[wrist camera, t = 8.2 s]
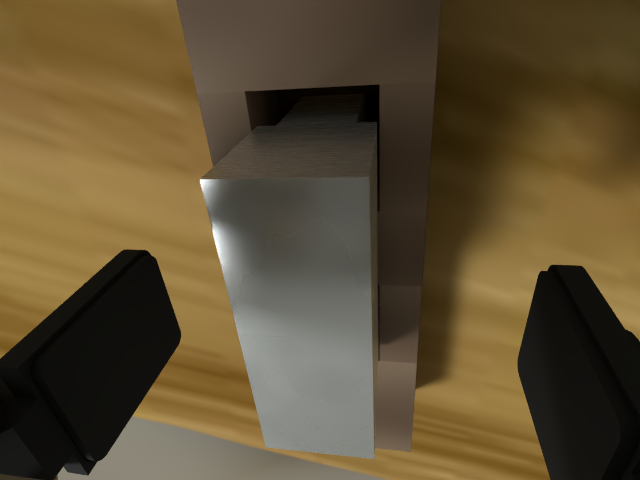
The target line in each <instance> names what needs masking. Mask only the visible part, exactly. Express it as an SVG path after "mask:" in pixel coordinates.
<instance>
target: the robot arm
mask: <svg viewBox="0 0 640 480" xmlns="http://www.w3.org/2000/svg"><path fill="white" fill-rule="evenodd" d="M180 339H181V331H180V328H179V325H178V322H177V319H176V316H175V313H174V310H173V307H172V304H171V301H170V298H169V295H168V292H167V290H166V287H165V284H164V281H163V278H162V275H161V272H160V269H159V266H158V263H157V260H156V258H155V257H153V256H151V254H150V253H149V252H148V251H146V250H123V251H121V252H120V253H119V254H118V255H116V256H115V257H114V258H113V259H112V260H111V261H110V262H109V263H107V264H106V265H105V266H104V267H103V268H102V269H101V270H100V271H98V272H97V273H96V274H95V275H94V276H93V277H92V278H91V279H89V280H88V281H87V282H86V283H85V284H84V285H83V286H82V287H81V288H79V289H78V290H77V291H76V292H75V293H74V294H73V295H72V296H70V297H69V298H68V299H67V300H66V301H65V302H64V303H63V304H61V305H60V306H59V307H58V308H57V309H56V310H55V311H54V312H52V313H51V314H50V315H49V316H48V317H47V318H46V319H45V320H43V321H42V322H41V323H40V324H39V325H38V326H37V327H36V328H34V329H33V330H32V331H31V332H30V333H29V334H28V335H27V336H25V337H24V338H23V339H22V340H21V341H20V342H19V343H18V344H16V345H15V346H14V347H13V348H12V349H11V350H10V351H9V352H7V353H6V354H5V355H4V356H3V357H2V358H1V359H0V480H58V479H57V478H58V477H57V474H58V473H59V472H60V470H61V469H62V467H63V466H64V468H65V469H66V471H67V472H70V473H76V474H82V475H89V473H90V472H91V470H92V469H93V467H94V466H95V464H96V463H97V461H100V460H102V459H103V458H104V457H105V456H106V455H107V453H108V452H109V450H110V449H111V447H112V446H113V444H114V443H115V441H116V440H117V438H118V437H119V435H120V433H121V432H122V430H123V429H124V427H125V426H126V424H127V423H128V421H129V420H130V418H131V417H132V415H133V414H134V412H135V411H136V409H137V408H138V406H139V404H140V403H141V401H142V400H143V398H144V397H145V395H146V394H147V392H148V391H149V389H150V388H151V386H152V385H153V383H154V382H155V380H156V379H157V377H158V375H159V374H160V372H161V371H162V369H163V368H164V366H165V365H166V363H167V362H168V360H169V359H170V357H171V356H172V354H173V353H174V351H175V349H176V348H177V346H178V345H179V343H180ZM518 373H519V377H520V380H521V383H522V386H523V390H524V393H525V396H526V400H527V403H528V406H529V410H530V413H531V416H532V419H533V423H534V426H535V429H536V433H537V436H538V439H539V443H540V446H541V449H542V453H543V456H544V459H545V462H546V466H547V469H548V472H549V476H550V479H551V480H640V342H639V340H638V339H637V338H636V337H635V335H634V334H633V333H632V332H630V331H628V330H625V329H624V327H623V326H622V324H621V323H620V321H619V320H618V318H617V317H616V315H615V313H614V312H613V310H612V309H611V307H610V306H609V304H608V303H607V301H606V300H605V298H604V297H603V295H602V294H601V292H600V291H599V289H598V288H597V286H596V285H595V283H594V282H593V280H592V279H591V277H590V276H589V274H588V273H587V271H586V270H585V269H584V268H583V267H582V266H573V265H551V266H550V267H549V268H548V271H541V272H540V273H539V275H538V279H537V283H536V287H535V291H534V295H533V299H532V303H531V307H530V311H529V315H528V319H527V323H526V327H525V331H524V335H523V339H522V343H521V348H520V352H519V356H518Z"/></svg>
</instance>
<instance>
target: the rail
mask: <svg viewBox="0 0 640 480" xmlns="http://www.w3.org/2000/svg"><path fill="white" fill-rule="evenodd" d="M176 1H177V6H178V10H179V15H180V19H181V24H182V28H183V33H184V37H185V42H186V46H187V51H188V55H189V60H190V64H191V69H192V73H193V78H194V82H195V87H196V91H197V96H198V100H199V105H200V109H201V114H202V118H203V123H204V127H205V132H206V136H207V141H208V145H209V150H210V154H211V159H212V163H213V167H214V166H215V165H216V164H217V163H218V162H219V161H220V160H221V159H222V158H223V157H225V156H226V155H227V154H228V153H229V152H230V151H231V150H232V149H233V148H234V147H235V146H236V145H237V144H239V143H240V142H241V141H242V140H243V139H244V138H245V137H246V136H247V135H248V134H249V133H250V132H251V131H253V130H254V129H255V128H256V127H257V126H276V125H277V124H278V123H279V122H280V114H279V106H278V98H277V90H282V89H301V88H320V87H339V86H358V85H377V84H380V172H377V221H378V285H380V306H378V381H377V404H376V428H375V448H379V449H389V450H398V451H408V452H411V443H412V428H413V413H414V399H415V384H416V369H417V354H418V339H419V324H420V309H421V294H422V279H423V264H424V249H425V234H426V219H427V204H428V189H429V174H430V159H431V144H432V129H433V114H434V99H435V84H436V69H437V54H438V39H439V24H440V9H441V0H176Z"/></svg>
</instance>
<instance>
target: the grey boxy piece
mask: <svg viewBox="0 0 640 480" xmlns="http://www.w3.org/2000/svg"><path fill="white" fill-rule="evenodd" d="M200 182H201V186H202V190H203V194H204V198H205V202H206V206H207V210H208V214H209V218H210V222H211V226H212V230H213V234H214V239H215V243H216V247H217V251H218V255H219V259H220V263H221V267H222V271H223V275H224V279H225V283H226V287H227V291H228V295H229V299H230V303H231V307H232V311H233V315H234V319H235V324H236V328H237V332H238V336H239V340H240V344H241V348H242V352H243V356H244V360H245V364H246V368H247V372H248V376H249V380H250V384H251V388H252V392H253V396H254V400H255V404H256V409H257V413H258V417H259V421H260V425H261V429H262V433H263V437H264V441H265V445H266V447H268V448H278V449H287V450H296V451H306V452H315V453H324V454H334V455H343V456H352V457H362V458H371V459H374V452H375V428H376V404H377V381H378V221H377V122H365V94H348V95H328V96H309V97H302V98H301V99H300V100H299V102H298V103H297V104H296V105H295V106H294V107H293V108H292V109H291V110H290V111H289V112H288V113H287V114H286V116H285V117H284V118H283V119H282V120H281V121H280V122H279V123H278V124H277V125H276V126H257V127H256V128H255V129H254V130H253V131H251V132H250V133H249V134H248V135H247V136H246V137H245V138H244V139H243V140H242V141H241V142H240V143H239V144H237V145H236V146H235V147H234V148H233V149H232V150H231V151H230V152H229V153H228V154H227V155H226V156H225V157H223V158H222V159H221V160H220V161H219V162H218V163H217V164H216V165H215V166H214V167H213V168H212V169H211V170H210V171H208V172H207V173H206V174H205V175H204V176H203V177H202V178H201V179H200Z"/></svg>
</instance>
